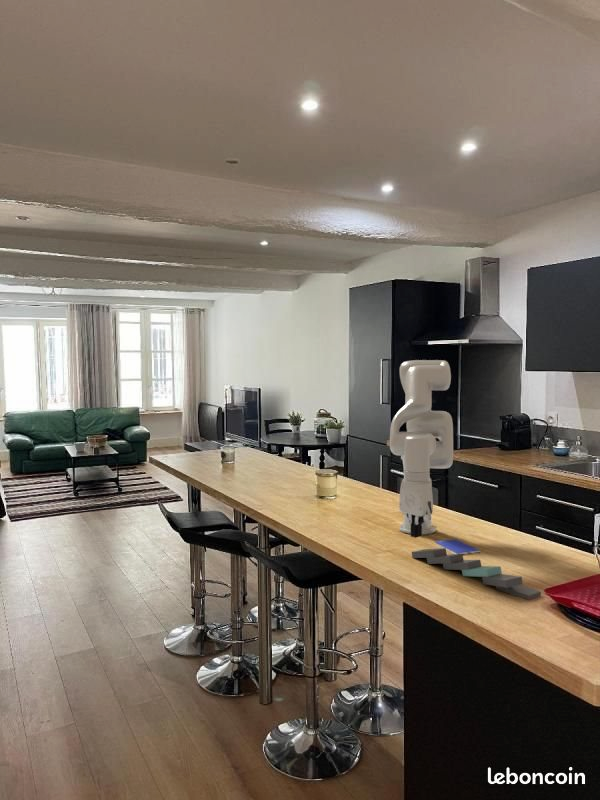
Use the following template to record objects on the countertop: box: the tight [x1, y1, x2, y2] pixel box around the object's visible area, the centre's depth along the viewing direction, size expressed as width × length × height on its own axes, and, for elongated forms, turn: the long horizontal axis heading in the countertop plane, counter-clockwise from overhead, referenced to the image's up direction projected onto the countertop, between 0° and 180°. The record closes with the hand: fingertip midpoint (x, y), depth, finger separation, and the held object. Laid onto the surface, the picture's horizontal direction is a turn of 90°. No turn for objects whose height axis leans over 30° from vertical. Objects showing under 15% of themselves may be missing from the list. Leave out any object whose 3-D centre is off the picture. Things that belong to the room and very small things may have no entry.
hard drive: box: [434, 538, 481, 555], centre depth 192 cm, size 2×8×12 cm
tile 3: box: [442, 559, 482, 571], centre depth 169 cm, size 2×5×10 cm
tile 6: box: [495, 584, 542, 601], centre depth 154 cm, size 2×5×10 cm
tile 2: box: [426, 553, 465, 565], centre depth 174 cm, size 2×5×10 cm
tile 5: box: [481, 573, 524, 588], centre depth 156 cm, size 2×5×10 cm
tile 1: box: [411, 547, 447, 559], centre depth 179 cm, size 2×5×10 cm
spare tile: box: [461, 565, 503, 577], centre depth 163 cm, size 2×5×10 cm
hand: (416, 536), depth 184 cm, fingers closed
